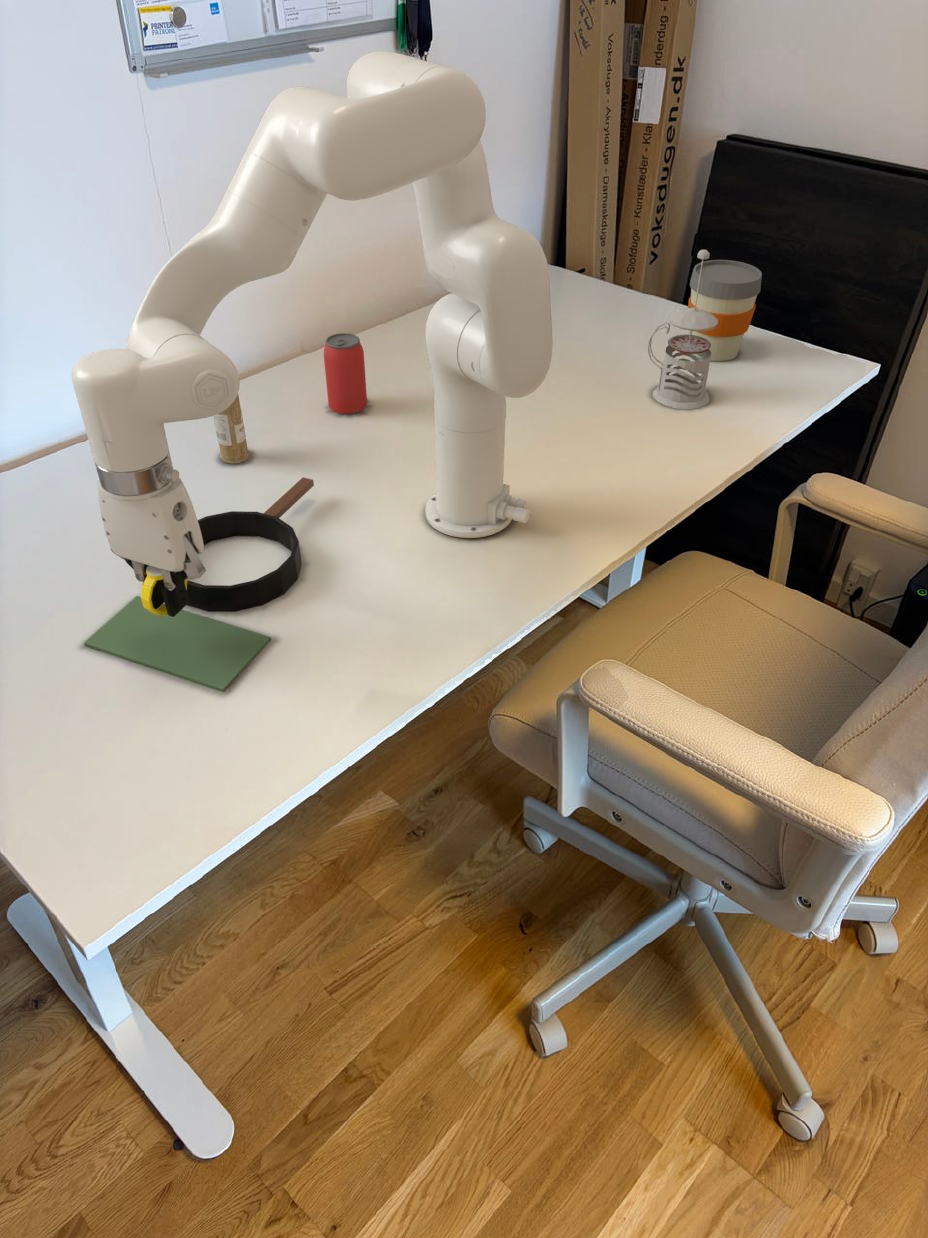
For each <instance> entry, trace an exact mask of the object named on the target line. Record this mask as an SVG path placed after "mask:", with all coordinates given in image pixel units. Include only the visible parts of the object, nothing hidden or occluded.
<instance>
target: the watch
mask: <svg viewBox="0 0 928 1238" xmlns="http://www.w3.org/2000/svg"><path fill="white" fill-rule="evenodd" d="M146 573H147V577H146V579H145V581H144V583H143V582H142V584H143V585H141V592H140V597H141V600H142V604H143V606H144V608H146V609H147V610H148V611H149V612H151V613H153V614H156V615H160V616H165V615H166V614H167V610H166V606H165V603H163V604H164V605H162V606H161V607H160V608H159V609H154V608H153V605H152V601H151V597H152V591H153V587H154V586H155V584H156V582H157V580H162V579H163V577H162V573H161V569H160V568H157V567H153V566H150V565H149V566H148V567H147V569H146ZM175 573H176V572H175ZM187 580H188V579H185V580H184V582H185V587H186V590H187Z"/></svg>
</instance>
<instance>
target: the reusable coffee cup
mask: <svg viewBox="0 0 928 1238" xmlns="http://www.w3.org/2000/svg"><path fill="white" fill-rule="evenodd" d="M701 263H702V261H701V262H698V263H697V264H695V266H694V267H693V269H692V273H691V277H690V282H689V287H690V297H688V305H687V306H688V307H687V308H695V301H696V295H697V289H698V282H699V276H700V270H701ZM762 275H763V273H762V271H761V270H760V269H759V268H758V267H756V266H754V265H753V264H749V263H746V262H741V261H737V260H730V259H712V260H706V261H703V266H702V272H701V278H700V284H699V291H698V297H697V303H696V308H698V309H703V310H705V311H708V312H710V313H711V314H712V315H713V316H714V317H716V318H717V319H718V324H717V325H716V326H715V327H714V328H713V329H710V330H708V331H692V334H693V335H695V336H696V335H697V336H699V337H702V338H705V339H707V340H708V341H709V342H710V343H711V347H710V348H709V350H710V351H711V359H710V362H725V361H730V360H733V359H735V358H737V356H738V354H739V351H740V348H741V345H742V342H743V339H744V335H745V333H747V332H748V330H749V328H750V325H751V323H752V319H753V316H754V313H755V310H756V299H757V297H758V295H759V294H760V292H761V290H762V289H761V286H762V278H763V277H762ZM690 333H691V331H689V334H690ZM692 355H694V356H695V357H696V358H698V359H701V360H704V359H703V358H701V357H700V356H699V355H697V354H692Z"/></svg>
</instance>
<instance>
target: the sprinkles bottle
mask: <svg viewBox="0 0 928 1238" xmlns="http://www.w3.org/2000/svg"><path fill="white" fill-rule="evenodd" d="M242 411H243V410H242V408H241V403H240V397H239V393H238V394H237V397H236V398H235V400H234V402H233V403H232V404H231V405H230V406H229V407H228V408H227V409H225V410H224V411H223V412H221V413H219V414H217V415H214V416H212V418H213V424H214V429H215V434H216V440H217V443H218V449H219V453H220V454H219V458H220V460H221V461H222V462H224V463H226V464H232V465H234V464H240V463H243V462H245V461H246V460H248V459H249V457H250V451H249V448H248V441H247V435H246V428H245V423H244V418H243V412H242Z"/></svg>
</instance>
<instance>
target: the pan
mask: <svg viewBox="0 0 928 1238" xmlns="http://www.w3.org/2000/svg"><path fill="white" fill-rule="evenodd" d="M314 481H315V480H314V479H313V478H307V477H301V478H300V479H299V480H297V482H295V484H293V485H292V486H291V487H290V488H289V489H288V490H287V491H286V492H285V493H284V494H283V495H282V496H281V497H279V499H277V500H276V501H275V502H274V503H273V504H271V506H269V507H268V508H267V509H266V510H265V511H264V512H260V511H240V510H239V511H238V510H237V511H235V510H233V511H232V510H231V511H226V512H222V513H216V514H212V515H206V516H204V517H202V518H199V519H197V520H198V523H199V527H200V531H201V535H202V539H203V543H204V546H205V545H207V544H210V543H212V542H215V541H220V540H224V539H231V538H234V537H254V538H256V537H257V538H258V537H259V538H262V539H266V540H270V541H273V542H276V543H279V544H280V545H282V547H284V548H285V549H287V550H288V551H290V555H289V557H288V558H287V559H286V560H285V561H283V563H282V564H280V566H279V567H277V568H276V569H275V570H272V571H271V572H268V573H267V574H265V575H263V576H260V577H258V578H256V579H253V580H250V581H244V582H239V583H236V584H230V585H226V584H225V585H219V584H218V585H216V584H215V585H214V584H213V585H212V584H209V585H208V584H202V583H198V582H196V581H193V580H192V581H191V580H190V579H187V590H186V591H187V595H188V600H189V602H188V604H187V605H186V606H189V607H192V608H195V609H199V610H201V611H203V612H204V611H205V612H209V613H211V612H212V613H213V612H214V613H237V612H240V611H241V612H242V611H245V610H249V609H254V608H258V607H262V606H264V605H267V604H268V603H270V602H272V601H274V600H276V599H278V598H280V597H282V596H283V595H285V594H286V593H287V592H288V591H289V590H290V589H291V587H293V586H294V585H295V583H296V582H298V580H299V576H300V572H301V569H302V566H303V563H302V562H303V561H302V555H301V547H300V541H299V538H298V536H297V534H296V531H295V529H294V527H293V526H291V525H289V524H288V523H287V522H286V521H284V520H282V519H281V517H283V515H284V514H286V513H287V512H288V511H289V510H290V509H291V508H292V507H293V506H294V505H295V504H296V503H298V502H299V500H300V499H302V497H303V496H305V494H307V493H308V492H309V491H310V490H311V489H312V488H313V487H314V486H315V483H314ZM174 574H175V572H174V571H173V575H174Z"/></svg>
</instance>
